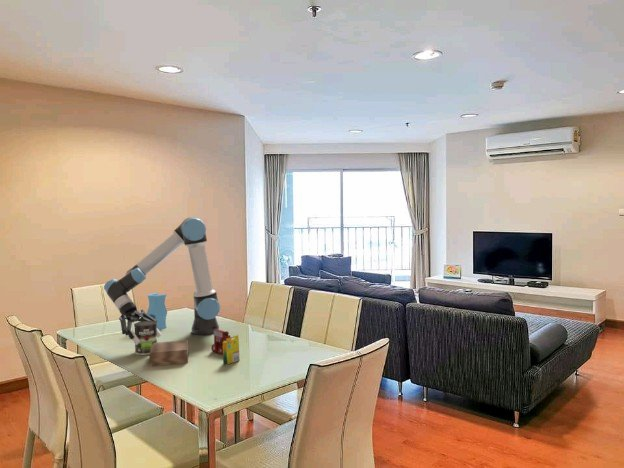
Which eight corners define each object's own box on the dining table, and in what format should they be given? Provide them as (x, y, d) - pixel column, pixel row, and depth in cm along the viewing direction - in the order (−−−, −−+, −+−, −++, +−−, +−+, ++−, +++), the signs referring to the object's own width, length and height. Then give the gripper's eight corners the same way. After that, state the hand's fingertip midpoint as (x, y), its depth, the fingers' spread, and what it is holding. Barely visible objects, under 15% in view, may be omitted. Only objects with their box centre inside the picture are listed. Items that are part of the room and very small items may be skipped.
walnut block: (188, 352, 222) (188, 340, 222) (187, 363, 206) (187, 349, 206) (153, 355, 218) (153, 342, 218) (149, 366, 203) (149, 352, 202)
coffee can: (158, 353, 222) (157, 324, 221) (135, 356, 217) (134, 326, 217) (156, 347, 231) (155, 319, 230) (134, 350, 227) (133, 322, 226)
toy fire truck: (225, 356, 215) (225, 334, 215) (209, 351, 223) (208, 330, 222) (237, 352, 220) (236, 331, 220) (220, 348, 228) (219, 327, 228)
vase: (167, 327, 270) (166, 293, 269) (156, 330, 264) (155, 296, 263) (158, 326, 275) (157, 292, 274) (147, 329, 268) (146, 295, 267)
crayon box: (235, 359, 211) (234, 333, 210) (239, 360, 209) (239, 334, 208) (222, 363, 205) (222, 337, 204) (227, 364, 203) (226, 338, 202)
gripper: (141, 306, 241) (164, 337, 235) (100, 316, 219) (124, 351, 213) (148, 296, 239) (171, 328, 233) (108, 306, 216) (132, 341, 210)
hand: (149, 339), depth 223 cm, fingers open, 13 cm apart
